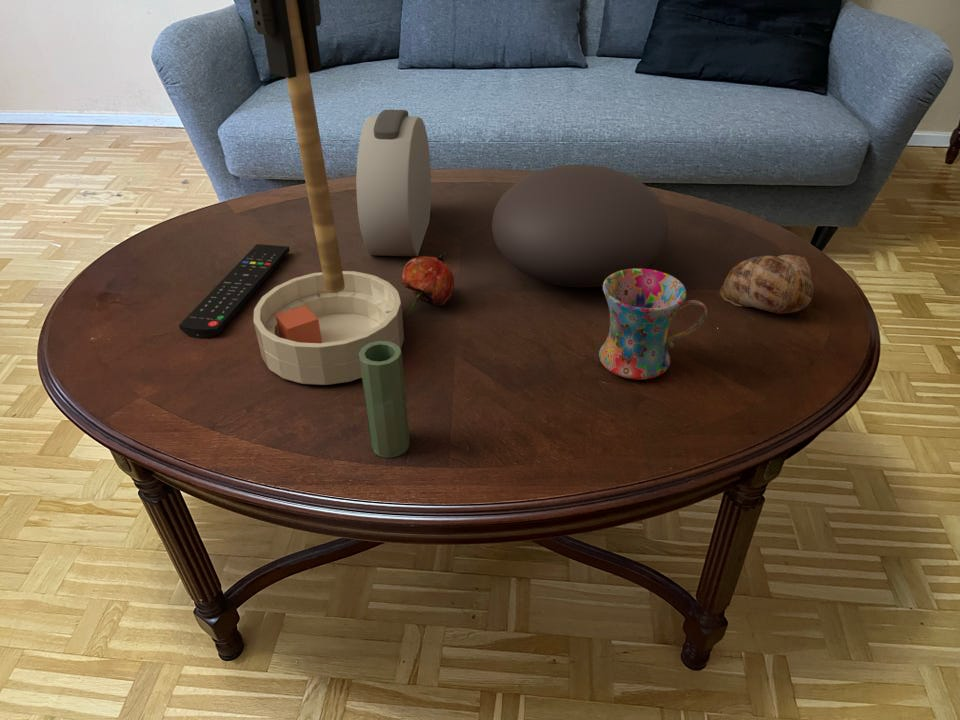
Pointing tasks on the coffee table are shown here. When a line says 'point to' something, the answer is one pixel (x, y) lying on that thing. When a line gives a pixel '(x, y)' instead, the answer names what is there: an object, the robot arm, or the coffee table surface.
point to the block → (299, 325)
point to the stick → (313, 157)
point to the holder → (385, 398)
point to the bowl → (328, 326)
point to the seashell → (770, 284)
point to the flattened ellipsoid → (579, 225)
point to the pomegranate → (428, 279)
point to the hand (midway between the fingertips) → (296, 71)
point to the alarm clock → (393, 184)
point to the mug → (642, 321)
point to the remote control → (233, 291)
